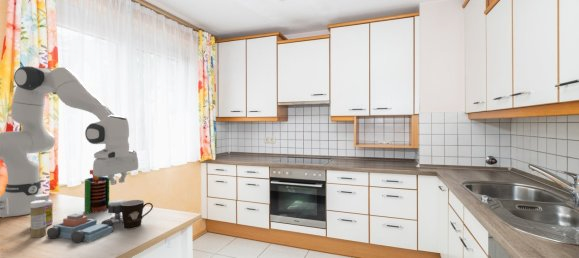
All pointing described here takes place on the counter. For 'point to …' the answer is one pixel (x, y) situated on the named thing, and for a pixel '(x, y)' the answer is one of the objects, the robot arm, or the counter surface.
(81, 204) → the counter surface
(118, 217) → the axle mount
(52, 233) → the chassis
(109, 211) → the wheel
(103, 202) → the motor
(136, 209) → the coffee mug
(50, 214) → the supplement bottle
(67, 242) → the counter surface
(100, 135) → the robot arm
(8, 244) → the counter surface
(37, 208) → the sprinkles bottle
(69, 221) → the block
